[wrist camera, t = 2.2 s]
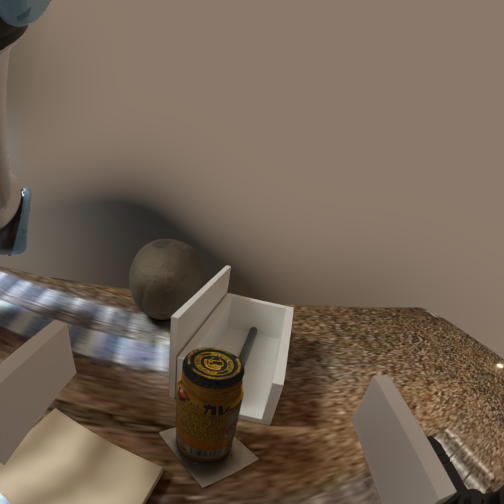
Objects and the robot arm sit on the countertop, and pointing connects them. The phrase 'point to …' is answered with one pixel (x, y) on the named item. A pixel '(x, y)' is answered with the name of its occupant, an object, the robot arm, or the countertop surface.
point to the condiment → (209, 416)
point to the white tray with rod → (235, 342)
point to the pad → (74, 468)
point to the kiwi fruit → (165, 277)
